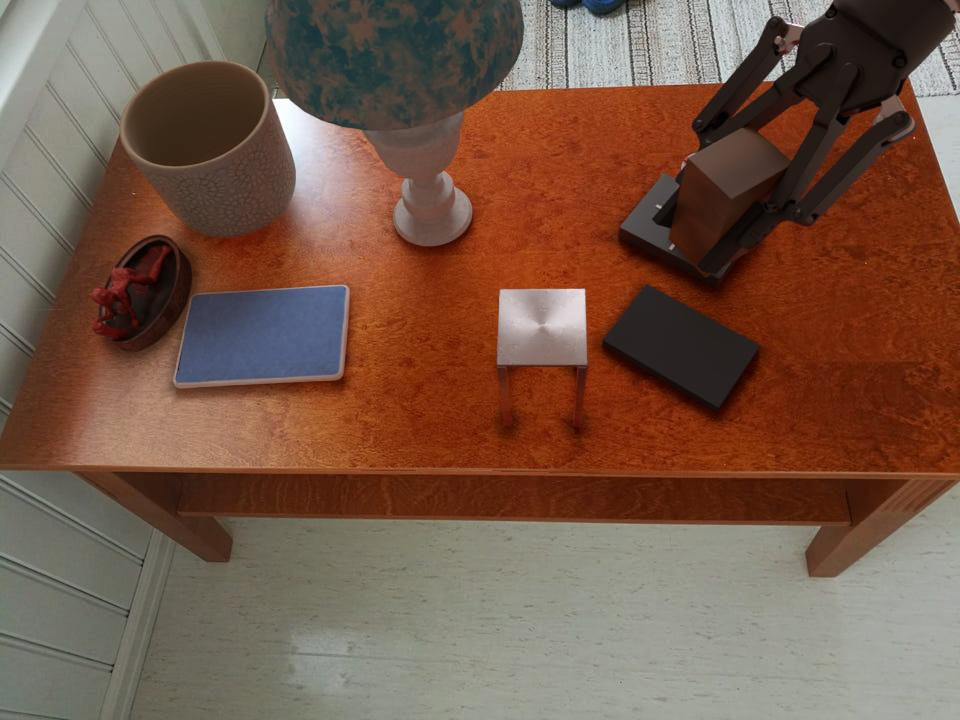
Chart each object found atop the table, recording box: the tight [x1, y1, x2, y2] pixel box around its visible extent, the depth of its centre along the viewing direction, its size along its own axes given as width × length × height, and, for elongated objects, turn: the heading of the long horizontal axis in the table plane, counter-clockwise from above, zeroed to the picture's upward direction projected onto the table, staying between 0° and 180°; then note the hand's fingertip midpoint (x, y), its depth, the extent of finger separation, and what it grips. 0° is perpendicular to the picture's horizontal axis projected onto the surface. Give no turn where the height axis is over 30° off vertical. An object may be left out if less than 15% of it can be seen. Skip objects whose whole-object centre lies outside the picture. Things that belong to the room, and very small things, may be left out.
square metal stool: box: [496, 288, 589, 428], centre depth 73 cm, size 8×8×14 cm
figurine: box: [90, 233, 193, 353], centre depth 86 cm, size 15×10×10 cm, turn 4°
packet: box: [668, 125, 792, 277], centre depth 60 cm, size 5×6×10 cm
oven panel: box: [617, 172, 738, 290], centre depth 87 cm, size 13×10×2 cm
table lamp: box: [264, 0, 525, 247], centre depth 74 cm, size 24×24×40 cm
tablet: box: [172, 284, 351, 390], centre depth 85 cm, size 19×13×1 cm, turn 91°
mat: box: [601, 283, 761, 413], centre depth 80 cm, size 14×9×1 cm, turn 53°
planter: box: [118, 59, 297, 239], centre depth 88 cm, size 17×17×15 cm
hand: (684, 246), depth 61 cm, fingers closed on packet, 5 cm apart
